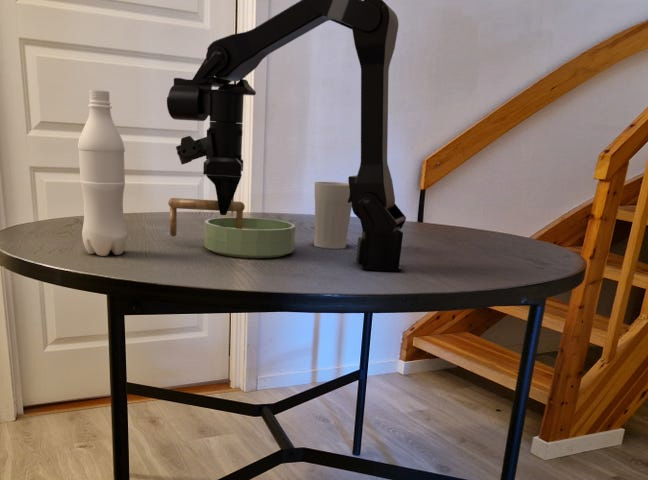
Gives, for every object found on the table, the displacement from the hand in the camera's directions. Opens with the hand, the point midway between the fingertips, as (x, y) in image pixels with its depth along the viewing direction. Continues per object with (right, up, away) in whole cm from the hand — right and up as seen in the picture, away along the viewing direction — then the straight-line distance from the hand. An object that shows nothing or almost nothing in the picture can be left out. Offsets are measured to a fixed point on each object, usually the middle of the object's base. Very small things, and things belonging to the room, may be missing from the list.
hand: (223, 214), depth 112 cm
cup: (+20, -4, +11) cm, 23 cm away
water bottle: (-19, -9, -9) cm, 23 cm away
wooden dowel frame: (-2, -4, +1) cm, 5 cm away
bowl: (+5, -7, +1) cm, 8 cm away
